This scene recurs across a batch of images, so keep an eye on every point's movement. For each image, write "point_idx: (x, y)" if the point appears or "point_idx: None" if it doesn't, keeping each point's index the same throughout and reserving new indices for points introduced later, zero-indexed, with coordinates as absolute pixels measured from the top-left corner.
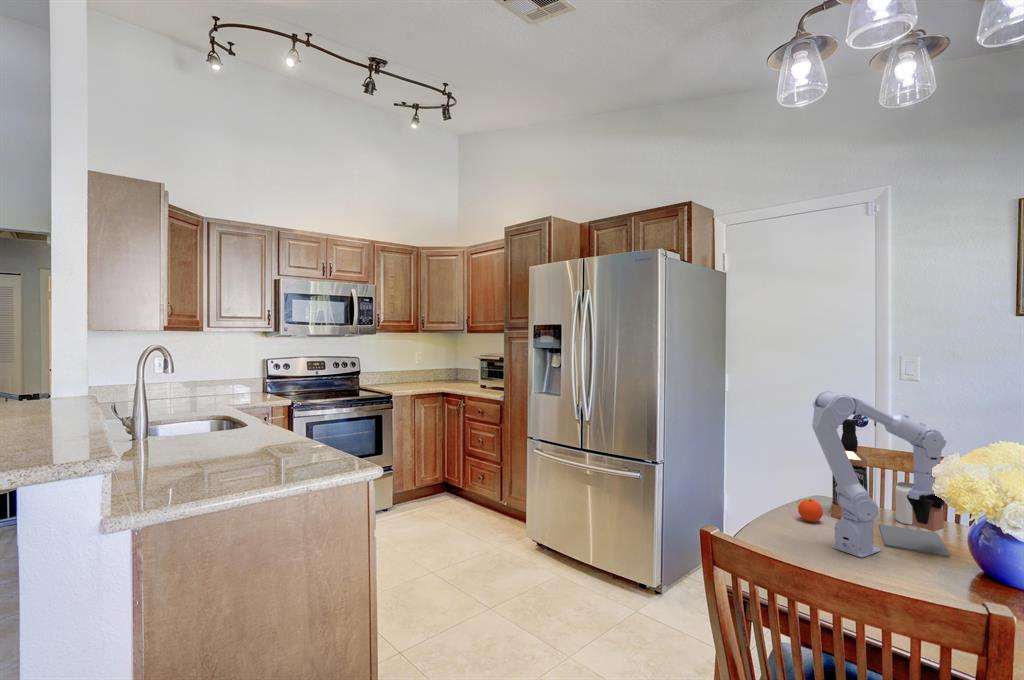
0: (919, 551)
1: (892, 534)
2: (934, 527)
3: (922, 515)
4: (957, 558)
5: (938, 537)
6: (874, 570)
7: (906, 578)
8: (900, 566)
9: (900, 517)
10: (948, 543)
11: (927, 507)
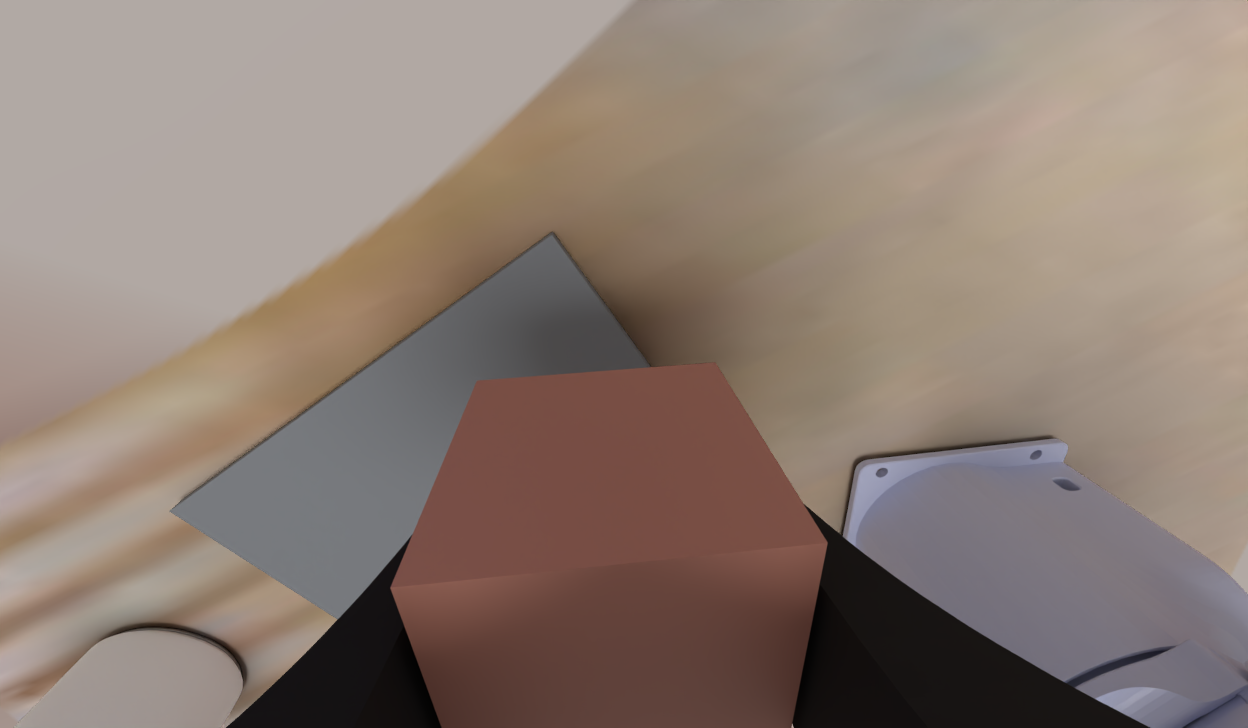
0: None
1: None
2: (719, 386)
3: None
4: (510, 192)
5: (253, 462)
6: (1206, 312)
7: (1231, 152)
8: (1026, 284)
9: (222, 710)
10: (257, 388)
11: (1074, 692)
